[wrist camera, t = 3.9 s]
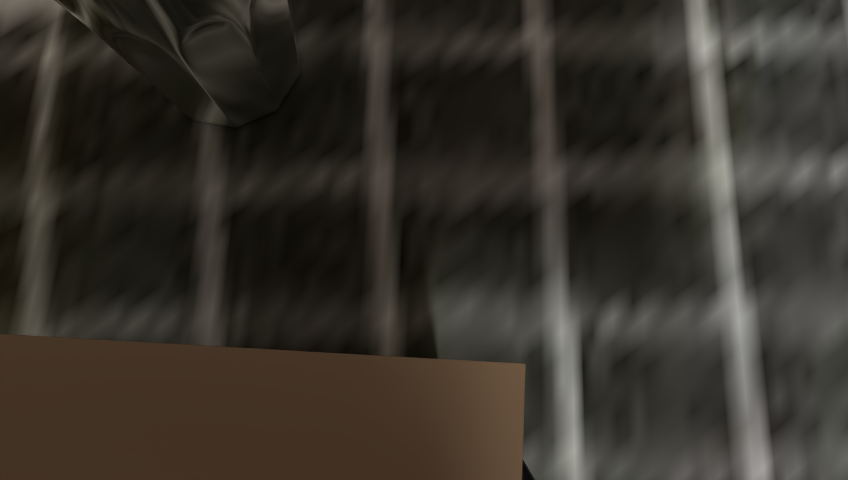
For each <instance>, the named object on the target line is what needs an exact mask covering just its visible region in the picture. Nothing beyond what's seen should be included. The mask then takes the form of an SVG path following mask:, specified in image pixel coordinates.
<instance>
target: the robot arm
mask: <svg viewBox="0 0 848 480" xmlns="http://www.w3.org/2000/svg"><path fill="white" fill-rule="evenodd" d="M522 480H535V479H534V478H533V476H532V474H531V472H530V471H529V469H528V467H527V466H526V464H525V462H524V461H522Z"/></svg>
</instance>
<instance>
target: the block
mask: <svg viewBox="0 0 848 480" xmlns="http://www.w3.org/2000/svg"><path fill="white" fill-rule="evenodd" d="M524 392H525V364H516V363H499V362H482V361H464V360H447V359H429V358H412V357H394V356H377V355H359V354H342V353H324V352H307V351H290V350H272V349H255V348H237V347H220V346H202V345H185V344H167V343H150V342H133V341H115V340H98V339H80V338H63V337H45V336H28V335H10V334H0V480H522V461H523V427H524Z"/></svg>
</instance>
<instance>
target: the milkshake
mask: <svg viewBox="0 0 848 480" xmlns="http://www.w3.org/2000/svg"><path fill="white" fill-rule="evenodd" d="M55 1H56V2H57V3H58V4H60V5H61V6H62V7H63V8H65V9H66V10H67V11H68V12H70V13H71V14H72V15H73V16H75V17H76V18H77V19H78V20H80V21H81V22H82V23H83V24H85V25H86V26H87V27H88V28H89V29H91V30H92V31H93V32H94V33H95V34H96V35H98V36H99V37H100V38H101V39H102V40H103V41H104V42H106V43H107V44H108V45H109V46H110V47H111V48H112V49H113V50H115V51H116V52H117V53H118V54H119V55H120V56H121V57H122V58H123V59H125V60H126V61H127V62H128V63H129V64H130V65H131V66H132V67H134V68H135V69H136V70H137V71H138V72H139V73H140V74H141V75H142V76H143V77H145V78H146V79H147V80H148V81H149V82H150V83H151V84H152V85H153V86H155V87H156V88H157V89H158V90H159V91H160V92H161V93H162V94H163V95H165V96H166V97H167V98H168V99H169V100H170V101H171V102H172V103H173V104H175V105H176V106H177V107H178V108H179V109H180V110H181V111H182V112H183V113H185V114H186V115H187V116H188V117H189V118H190V119H192V120H197V121H202V122H208V123H213V124H219V125H224V126H229V127H234V128H237V127H239V126H241V125H244V124H246V123H248V122H251V121H253V120H255V119H257V118H260V117H262V116H264V115H267V114H269V113H272V112H274V111H276V110H278V108H279V106H280V105H281V103H282V101H283V100H284V98H285V97H286V95H287V93H288V92H289V90H290V88H291V87H292V85H293V84H294V82H295V80H296V79H297V77H298V76H299V74H300V69H299V60H298V51H297V41H296V31H295V24H294V17H293V11H292V4H291V0H55Z"/></svg>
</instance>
